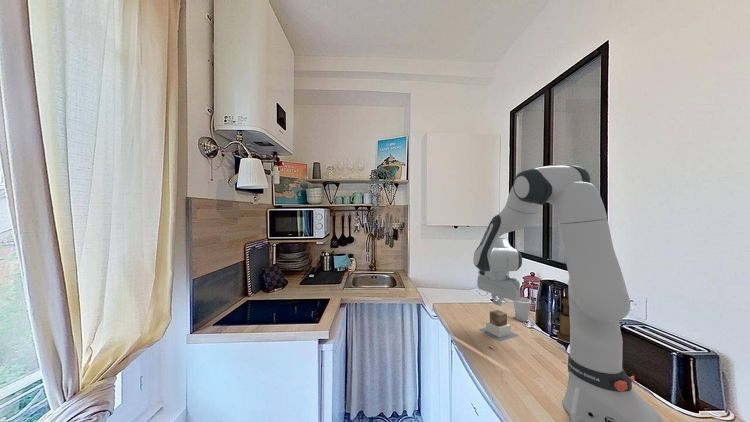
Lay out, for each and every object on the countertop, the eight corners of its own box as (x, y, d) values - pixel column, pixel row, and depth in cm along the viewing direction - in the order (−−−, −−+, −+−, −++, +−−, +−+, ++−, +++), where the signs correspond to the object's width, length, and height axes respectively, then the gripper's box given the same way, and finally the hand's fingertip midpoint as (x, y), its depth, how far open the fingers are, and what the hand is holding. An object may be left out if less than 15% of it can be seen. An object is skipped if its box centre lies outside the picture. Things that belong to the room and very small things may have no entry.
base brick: (510, 334, 118) (510, 325, 118) (499, 337, 115) (499, 328, 115) (496, 327, 124) (497, 319, 124) (486, 330, 121) (486, 322, 121)
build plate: (519, 337, 117) (519, 335, 117) (500, 343, 111) (500, 341, 111) (496, 327, 128) (496, 324, 128) (477, 331, 122) (477, 329, 122)
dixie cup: (515, 321, 134) (515, 301, 134) (510, 315, 142) (510, 296, 142) (533, 323, 132) (533, 303, 132) (528, 316, 140) (528, 297, 140)
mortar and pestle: (568, 345, 111) (568, 301, 111) (552, 338, 117) (553, 297, 117) (578, 342, 113) (578, 300, 113) (562, 335, 119) (563, 295, 119)
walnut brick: (506, 324, 118) (507, 313, 118) (499, 326, 116) (499, 315, 116) (497, 320, 123) (497, 309, 123) (489, 322, 121) (489, 311, 121)
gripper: (524, 278, 112) (523, 311, 112) (484, 268, 130) (484, 297, 130) (514, 280, 109) (513, 314, 109) (475, 269, 127) (474, 298, 127)
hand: (497, 304), depth 120 cm, fingers closed
